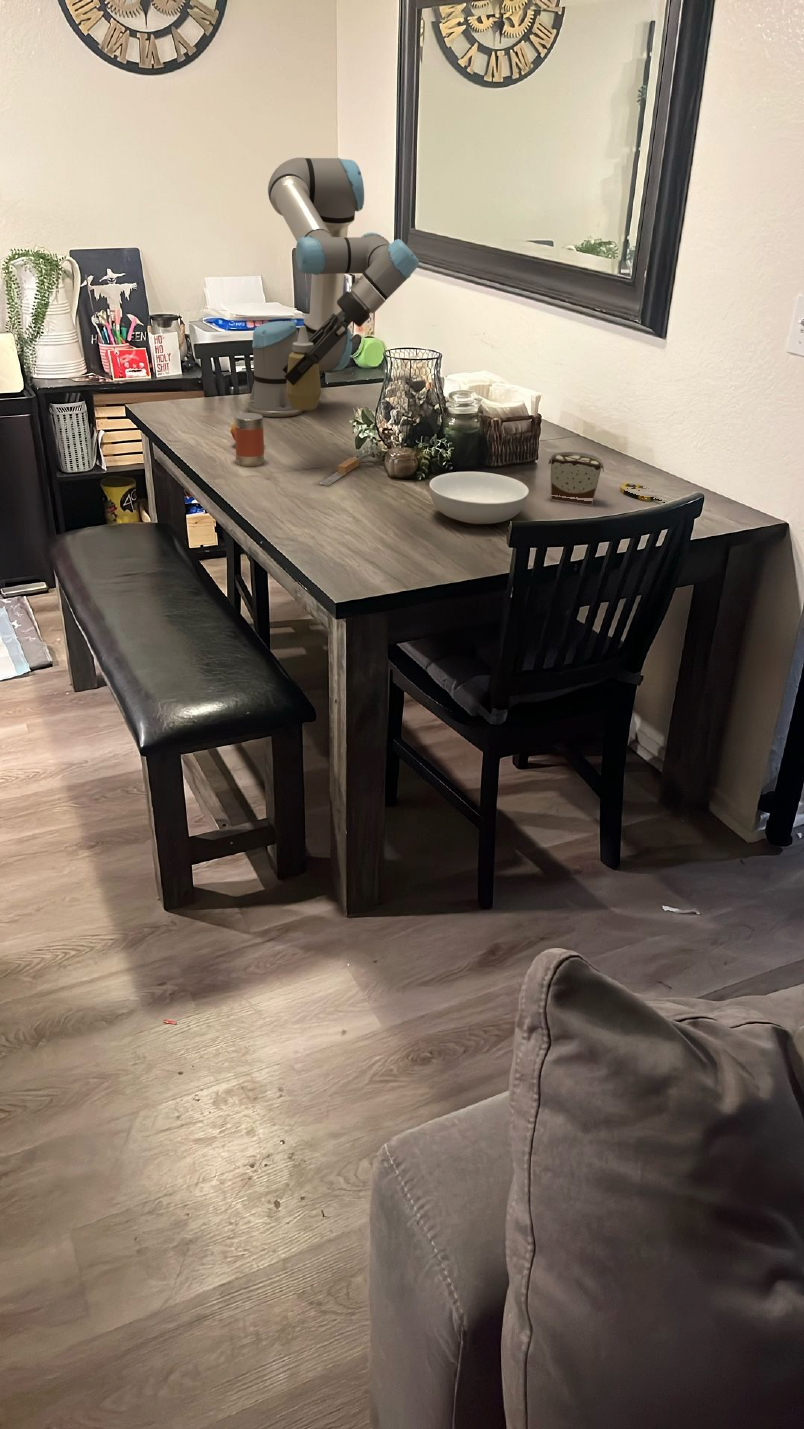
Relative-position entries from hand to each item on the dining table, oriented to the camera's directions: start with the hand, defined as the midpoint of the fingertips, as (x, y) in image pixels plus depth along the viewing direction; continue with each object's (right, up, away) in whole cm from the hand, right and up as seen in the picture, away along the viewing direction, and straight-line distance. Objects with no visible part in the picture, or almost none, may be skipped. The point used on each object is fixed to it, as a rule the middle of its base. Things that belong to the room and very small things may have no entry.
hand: (287, 377), depth 242 cm
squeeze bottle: (+3, -6, +4) cm, 8 cm away
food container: (+65, -28, -3) cm, 71 cm away
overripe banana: (+82, -28, 0) cm, 86 cm away
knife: (+11, -21, +7) cm, 25 cm away
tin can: (-10, -16, +13) cm, 23 cm away
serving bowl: (+42, -35, -16) cm, 57 cm away
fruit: (-13, -10, +25) cm, 29 cm away
